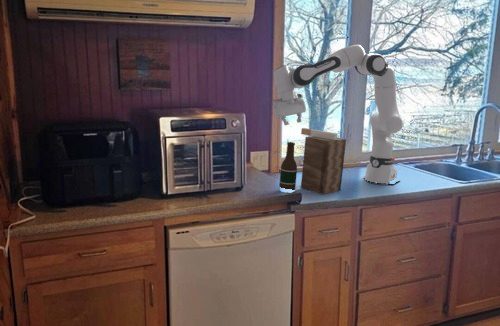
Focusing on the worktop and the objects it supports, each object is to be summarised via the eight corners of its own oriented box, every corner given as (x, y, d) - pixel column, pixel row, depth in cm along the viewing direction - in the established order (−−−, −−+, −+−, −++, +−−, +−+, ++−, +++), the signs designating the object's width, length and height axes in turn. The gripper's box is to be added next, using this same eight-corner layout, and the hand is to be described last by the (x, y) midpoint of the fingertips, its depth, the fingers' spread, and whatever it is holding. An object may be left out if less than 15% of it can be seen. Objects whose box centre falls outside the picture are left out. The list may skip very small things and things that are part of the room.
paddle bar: (304, 133, 235) (304, 128, 234) (336, 139, 221) (337, 133, 221) (301, 134, 233) (301, 128, 232) (334, 139, 220) (334, 133, 219)
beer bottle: (294, 194, 215) (298, 144, 211) (277, 192, 217) (281, 142, 212) (295, 190, 223) (300, 142, 218) (279, 188, 224) (284, 140, 220)
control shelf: (319, 184, 239) (324, 135, 234) (340, 190, 230) (346, 139, 225) (300, 188, 228) (305, 137, 223) (322, 194, 219) (327, 141, 214)
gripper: (276, 98, 227) (282, 125, 227) (304, 94, 239) (310, 119, 240) (268, 101, 231) (274, 127, 232) (296, 96, 244) (302, 122, 245)
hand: (293, 123), depth 236 cm, fingers open, 8 cm apart
